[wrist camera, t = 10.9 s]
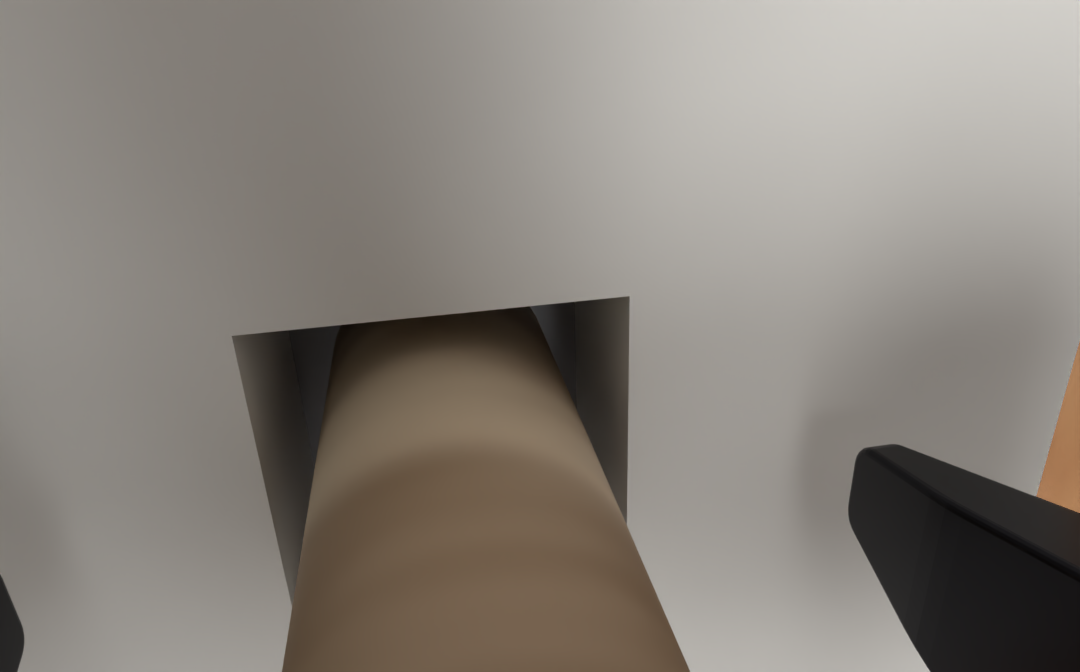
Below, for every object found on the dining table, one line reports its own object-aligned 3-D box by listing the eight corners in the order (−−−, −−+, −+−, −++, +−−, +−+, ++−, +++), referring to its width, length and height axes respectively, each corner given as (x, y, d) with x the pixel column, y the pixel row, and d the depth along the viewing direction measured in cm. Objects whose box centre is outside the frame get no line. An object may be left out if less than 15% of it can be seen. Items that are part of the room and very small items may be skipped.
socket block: (834, 630, 17) (950, 801, 14) (56, 760, 15) (-49, 1006, 11) (978, -260, 10) (1283, -388, 7) (-389, -265, 8) (-993, -457, 5)
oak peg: (548, 440, 13) (931, 1546, 4) (349, 465, 12) (228, 1793, 3) (541, 253, 11) (1107, 1271, 2) (317, 273, 11) (-36, 1628, 2)
